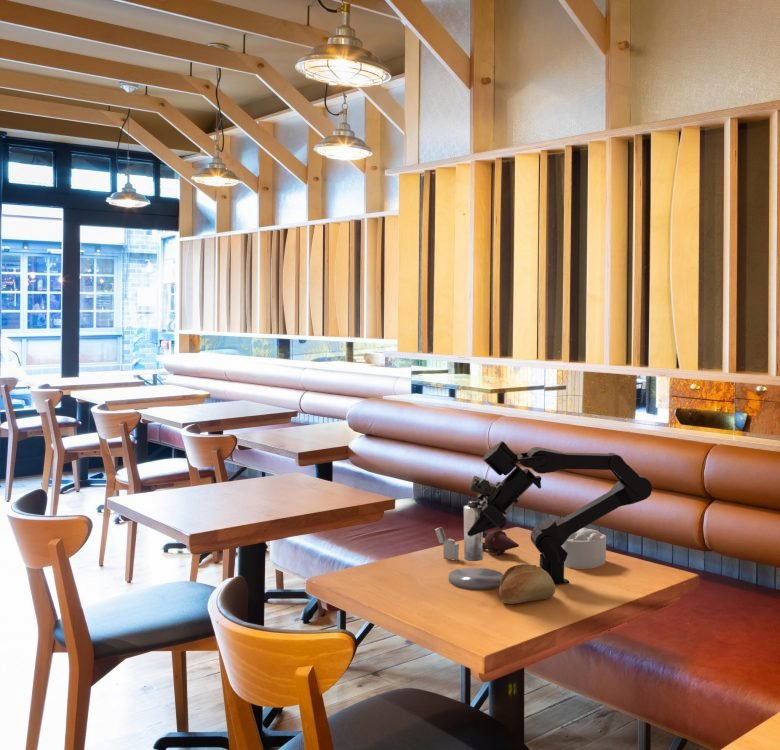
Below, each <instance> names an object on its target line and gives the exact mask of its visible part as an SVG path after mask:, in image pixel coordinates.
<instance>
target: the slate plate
mask: <svg viewBox="0 0 780 750" xmlns="http://www.w3.org/2000/svg"><path fill="white" fill-rule="evenodd" d="M503 575H504V573H502V572H500V571H497V570H494V569H489V568H484V567H483V568H482V567H463V568H458V569H454V570H452V571H450V572H449V573H448V582H449V584H451V585H452V584H453V586H454V585H455V587H458V588H461V589H464V590H465V589H467V590H474V591H475V590H476V591H477V590H478V591H480V590H481V591H484V590H485V591H486V590H493V589H498V588H499V587H500V582H501V579H502V577H503Z"/></svg>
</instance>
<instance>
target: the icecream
mask: <svg viewBox="0 0 780 750" xmlns="http://www.w3.org/2000/svg"><path fill="white" fill-rule="evenodd" d="M483 540H484V541H483V551H485V550H487V551H489V552H490V553H492V554H495V555H496V556H497V555H498V556H499V554H500V555H503V554H505V552H506V551H508V550H512V549H515V548H519V547H520V545H519V544H518V543H517V542H515V541H514V540H513V539H511V538H510V537H509V536H507V533H506V532H504V531H503V530H502V529H496V530H491V531H488V530H486V531H484V532H483ZM502 553H503V554H502Z"/></svg>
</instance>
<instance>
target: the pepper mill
mask: <svg viewBox="0 0 780 750" xmlns="http://www.w3.org/2000/svg"><path fill="white" fill-rule="evenodd" d="M479 508H481V509H482V506H480V505H478V502H477V500H469V501H468V502H467V505H463V543H464V544H463V545H464V546H463V548H464V549H463V551H464V553H463V555H464V557H463V558H464V560H465V561H468V562H479V561H483V559H484V550H483V542H484V541H483V540H484V538H483V532H481V533H478V534H476V535H473V536H469V535H468V534H467V533H468V531H469V530H470V528H471V527H472V525H473V524H474V523H475V521H476V520H477V518H478V517H479Z"/></svg>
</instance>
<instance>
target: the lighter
mask: <svg viewBox="0 0 780 750" xmlns="http://www.w3.org/2000/svg"><path fill="white" fill-rule="evenodd" d="M434 530H435V534H436V536H437V539H438V540H437V541H438V542H439V544H443V553H442V554H443V556H442V557H445V558H444V559H446V558H449V559H448V560H450V559H454V560H456V561H458V560H459V550H460V548H459V547H460V545H459V542H458V543H457V542H456V540H455V539H452V538H447V537H446V534H445V531H444V529H443V526H439V527H437V528H434ZM457 559H458V560H457ZM454 560H453V561H454Z"/></svg>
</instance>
